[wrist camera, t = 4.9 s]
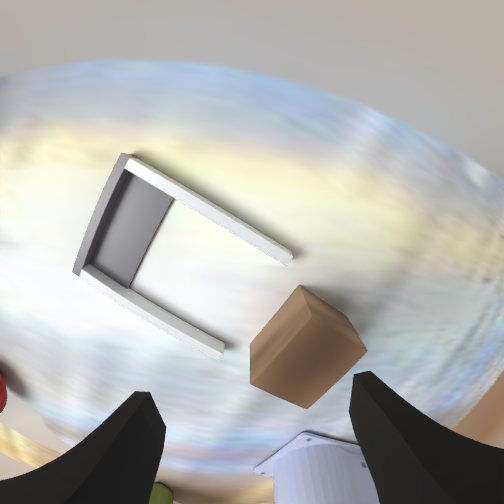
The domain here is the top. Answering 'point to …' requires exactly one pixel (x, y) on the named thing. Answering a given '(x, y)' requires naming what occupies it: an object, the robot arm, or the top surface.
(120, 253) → the channel
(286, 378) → the walnut block
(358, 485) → the robot arm
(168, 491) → the plant pot
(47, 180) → the top surface
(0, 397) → the pomegranate
